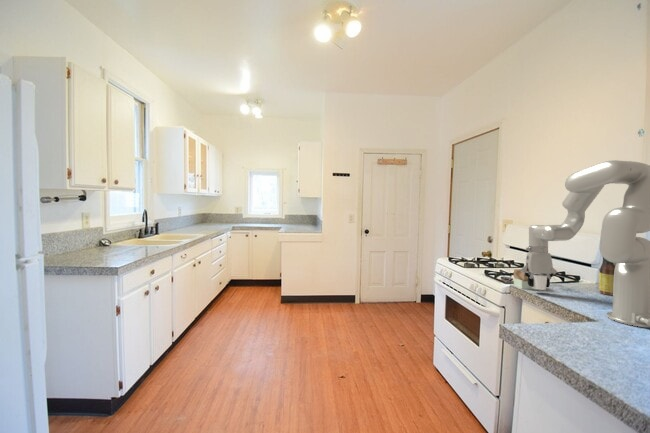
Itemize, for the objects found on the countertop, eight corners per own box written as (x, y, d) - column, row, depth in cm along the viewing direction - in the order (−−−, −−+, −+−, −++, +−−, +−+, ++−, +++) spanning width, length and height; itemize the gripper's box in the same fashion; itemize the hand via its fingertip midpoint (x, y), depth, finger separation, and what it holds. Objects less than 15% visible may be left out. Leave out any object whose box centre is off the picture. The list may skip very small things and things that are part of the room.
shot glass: (551, 290, 133) (551, 275, 133) (536, 290, 133) (536, 275, 133) (540, 286, 140) (540, 272, 140) (526, 286, 140) (526, 272, 140)
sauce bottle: (608, 292, 139) (610, 253, 139) (620, 296, 133) (622, 255, 132) (594, 291, 140) (596, 252, 139) (606, 295, 134) (607, 254, 133)
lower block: (538, 290, 142) (539, 281, 142) (521, 289, 144) (521, 280, 144) (530, 286, 150) (530, 277, 150) (513, 285, 152) (514, 277, 152)
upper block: (539, 281, 143) (539, 272, 143) (524, 281, 143) (524, 272, 143) (528, 277, 151) (528, 269, 151) (513, 277, 151) (513, 269, 151)
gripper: (523, 250, 134) (523, 287, 134) (563, 251, 131) (563, 289, 131) (515, 248, 142) (515, 284, 142) (553, 249, 139) (553, 285, 138)
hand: (538, 286), depth 136 cm, fingers closed on shot glass, 6 cm apart
